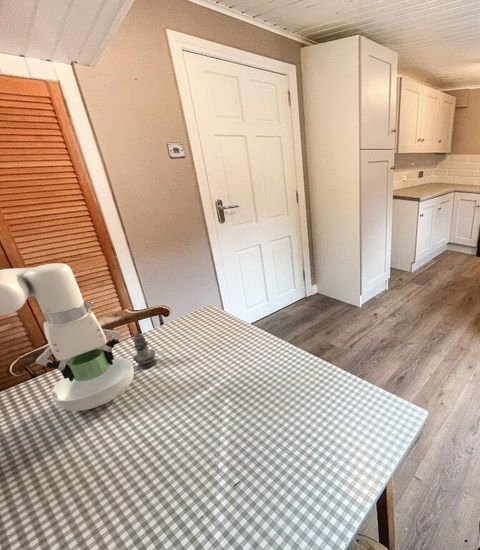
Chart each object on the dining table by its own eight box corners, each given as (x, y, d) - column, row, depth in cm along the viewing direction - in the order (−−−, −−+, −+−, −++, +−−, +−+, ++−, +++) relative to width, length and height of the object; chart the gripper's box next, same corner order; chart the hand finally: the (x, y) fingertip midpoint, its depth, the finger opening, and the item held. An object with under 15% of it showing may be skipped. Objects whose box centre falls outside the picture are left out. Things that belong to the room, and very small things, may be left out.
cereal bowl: (119, 369, 95) (112, 351, 92) (151, 386, 88) (144, 366, 86) (48, 407, 81) (37, 386, 78) (80, 430, 74) (69, 409, 72)
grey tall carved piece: (141, 372, 94) (130, 339, 89) (132, 366, 97) (121, 334, 92) (161, 362, 99) (152, 330, 94) (152, 356, 101) (142, 325, 97)
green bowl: (68, 385, 77) (60, 368, 75) (81, 367, 84) (74, 351, 82) (103, 378, 80) (96, 361, 78) (114, 361, 86) (107, 345, 84)
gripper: (106, 296, 83) (126, 350, 90) (13, 322, 71) (44, 382, 77) (114, 304, 79) (134, 360, 85) (16, 333, 66) (48, 395, 73)
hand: (91, 370), depth 81 cm, fingers closed on green bowl, 7 cm apart
